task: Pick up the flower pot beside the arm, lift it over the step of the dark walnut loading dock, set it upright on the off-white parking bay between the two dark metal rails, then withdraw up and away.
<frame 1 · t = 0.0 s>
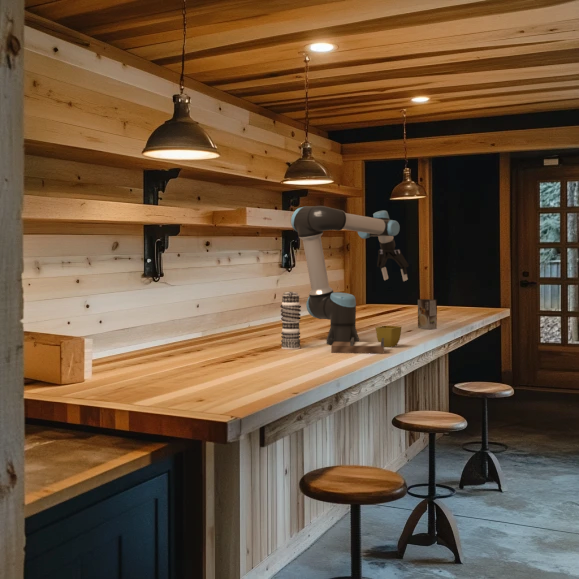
hand: (395, 279, 382), 28 cm above the counter, tool tilted 20°, fingers open, 13 cm apart
decorative candle: (290, 348, 328), on the counter
dock: (358, 350, 319), on the counter
flower pot: (388, 347, 333), on the counter
coffee box: (427, 328, 408), on the counter
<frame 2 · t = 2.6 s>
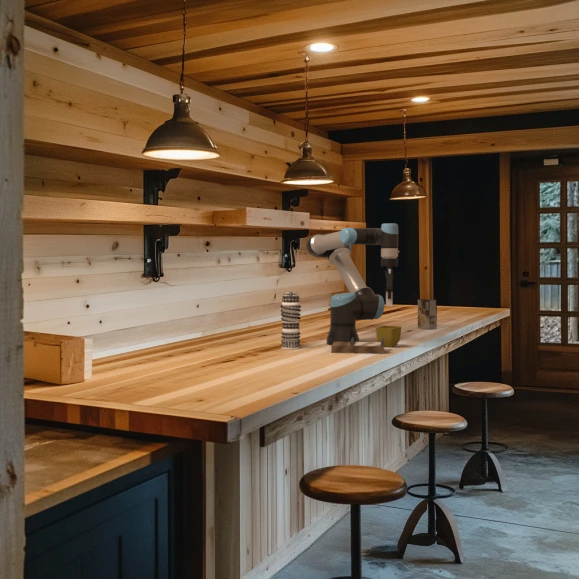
hand: (389, 305, 332), 19 cm above the counter, tool pointing down, fingers open, 13 cm apart
nothing on the counter moved.
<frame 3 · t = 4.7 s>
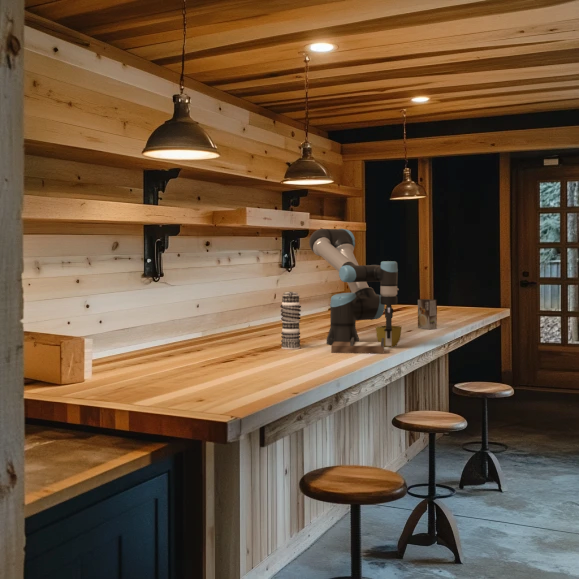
hand: (388, 344, 333), 1 cm above the counter, tool pointing down, fingers closed on flower pot, 11 cm apart
flower pot: (388, 347, 333), on the counter, touching gripper
everything else where it was.
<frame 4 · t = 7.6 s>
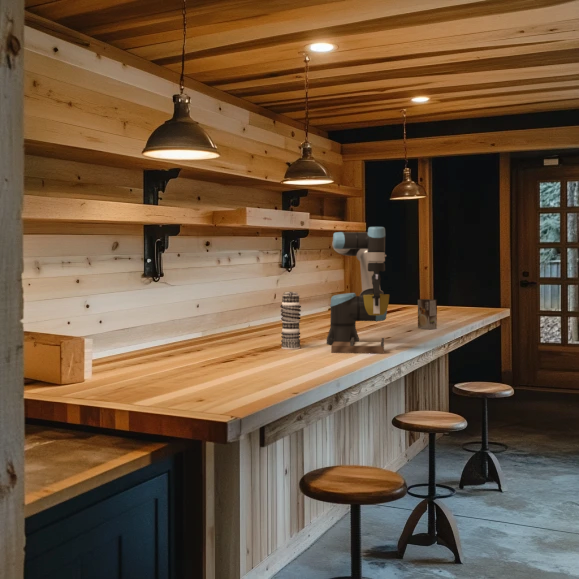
hand: (376, 312, 323), 16 cm above the counter, tool pointing down, fingers closed on flower pot, 11 cm apart
flower pot: (376, 315, 323), point 15 cm above the counter, touching gripper
everything else where it was.
when the fingers open (6 cm above the counter, at t = 10.7 s): flower pot drops 1 cm, resting on dock.
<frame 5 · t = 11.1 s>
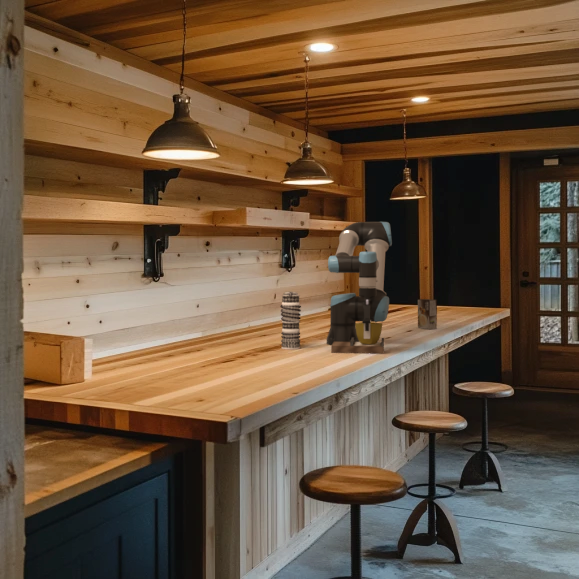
hand: (367, 336, 318), 6 cm above the counter, tool pointing down, fingers open, 13 cm apart
flower pot: (368, 344, 317), point 3 cm above the counter, touching dock, gripper
everything else where it was.
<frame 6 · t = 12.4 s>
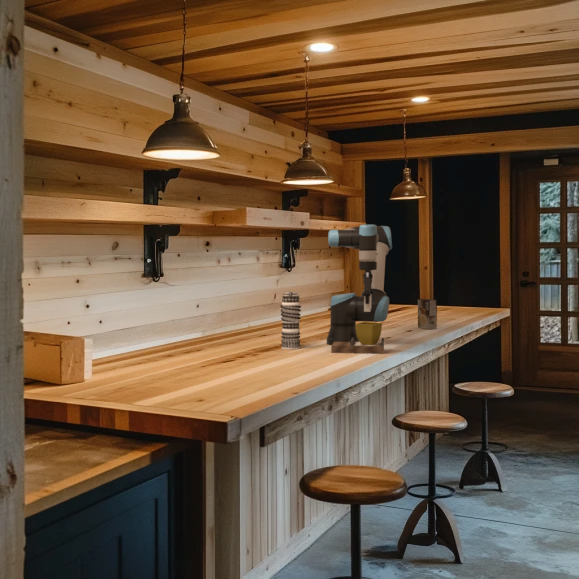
hand: (367, 310, 318), 18 cm above the counter, tool pointing down, fingers open, 13 cm apart
flower pot: (368, 344, 317), point 3 cm above the counter, touching dock
everything else where it was.
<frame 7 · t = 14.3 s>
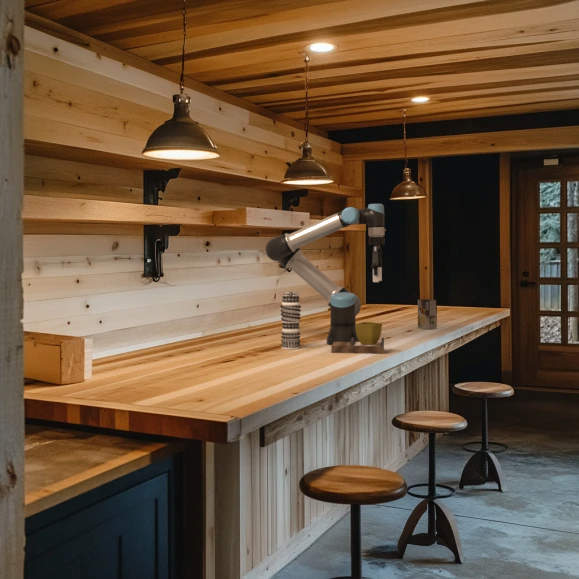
hand: (377, 281, 351), 28 cm above the counter, tool pointing down, fingers open, 13 cm apart
nothing on the counter moved.
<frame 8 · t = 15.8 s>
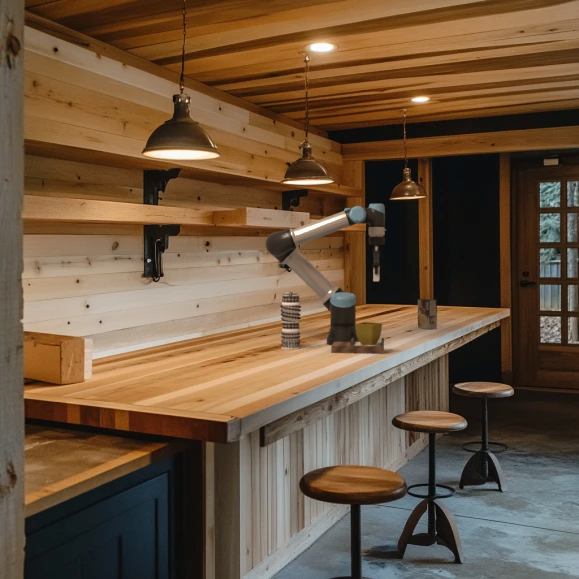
hand: (376, 280, 354), 29 cm above the counter, tool pointing down, fingers open, 13 cm apart
nothing on the counter moved.
at the end: flower pot 1.5 cm from the target spot on the dock, point 3.0 cm above the dock's base; flower pot tilted 0°; the gripper is holding nothing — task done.
